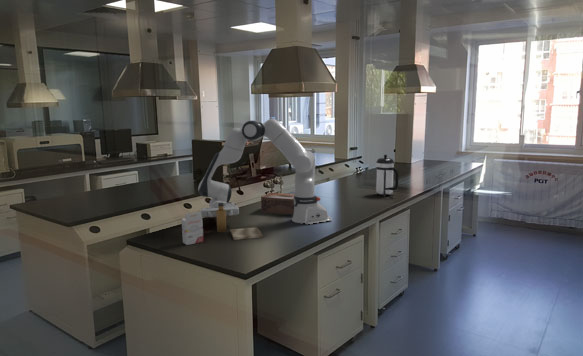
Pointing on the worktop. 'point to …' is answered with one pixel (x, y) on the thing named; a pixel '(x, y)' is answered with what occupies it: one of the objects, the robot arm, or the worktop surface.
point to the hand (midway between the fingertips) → (221, 215)
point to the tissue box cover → (277, 203)
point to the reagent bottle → (221, 218)
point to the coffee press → (385, 176)
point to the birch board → (246, 233)
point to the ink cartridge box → (192, 228)
